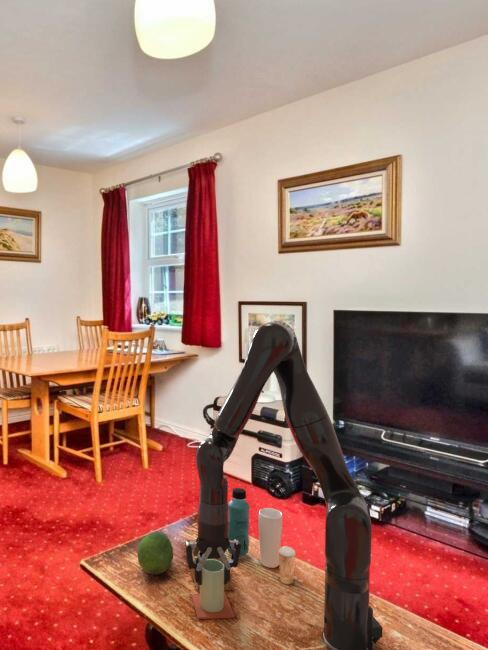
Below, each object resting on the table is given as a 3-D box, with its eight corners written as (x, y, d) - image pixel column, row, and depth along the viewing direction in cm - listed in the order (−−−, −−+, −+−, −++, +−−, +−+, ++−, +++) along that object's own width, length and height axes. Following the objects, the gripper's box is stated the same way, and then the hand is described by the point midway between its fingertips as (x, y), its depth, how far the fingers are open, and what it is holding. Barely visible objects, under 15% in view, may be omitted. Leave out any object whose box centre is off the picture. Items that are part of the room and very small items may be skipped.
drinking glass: (282, 571, 138) (283, 519, 138) (258, 568, 140) (258, 516, 139) (280, 558, 145) (281, 508, 144) (257, 556, 146) (258, 506, 146)
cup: (220, 596, 126) (221, 558, 125) (226, 611, 120) (227, 571, 119) (197, 597, 125) (198, 559, 125) (202, 613, 119) (202, 572, 119)
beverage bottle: (222, 552, 148) (223, 487, 147) (240, 548, 151) (241, 483, 150) (235, 563, 142) (236, 495, 142) (253, 558, 145) (254, 491, 144)
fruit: (147, 551, 148) (147, 519, 148) (179, 556, 146) (179, 523, 145) (131, 579, 134) (132, 543, 134) (167, 585, 131) (167, 548, 131)
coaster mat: (225, 594, 127) (225, 592, 127) (234, 617, 118) (234, 615, 118) (191, 596, 127) (191, 594, 127) (197, 619, 118) (197, 617, 118)
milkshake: (291, 589, 130) (292, 552, 130) (274, 580, 134) (275, 544, 134) (301, 583, 133) (302, 546, 132) (284, 574, 137) (285, 539, 137)
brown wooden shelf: (216, 555, 147) (216, 540, 147) (231, 590, 129) (231, 573, 129) (186, 556, 146) (186, 541, 146) (197, 591, 129) (197, 575, 128)
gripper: (187, 524, 117) (186, 593, 118) (245, 523, 119) (244, 590, 119) (182, 510, 125) (181, 575, 125) (237, 509, 126) (236, 573, 127)
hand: (212, 582), depth 122 cm, fingers closed on cup, 6 cm apart
